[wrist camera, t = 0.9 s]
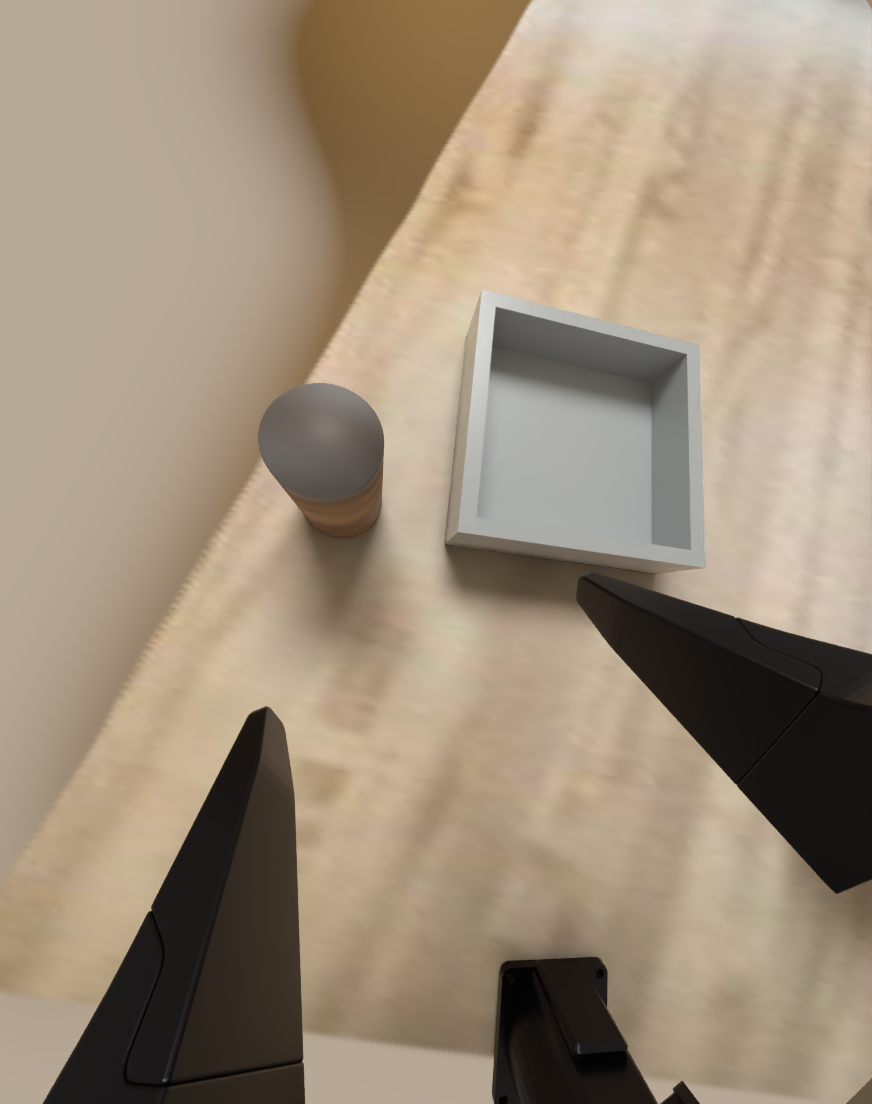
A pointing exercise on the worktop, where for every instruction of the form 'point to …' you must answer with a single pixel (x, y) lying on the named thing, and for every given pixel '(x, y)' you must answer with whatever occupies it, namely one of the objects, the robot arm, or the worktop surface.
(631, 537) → the bin
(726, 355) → the worktop surface
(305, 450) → the spice jar
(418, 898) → the worktop surface
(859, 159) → the worktop surface
